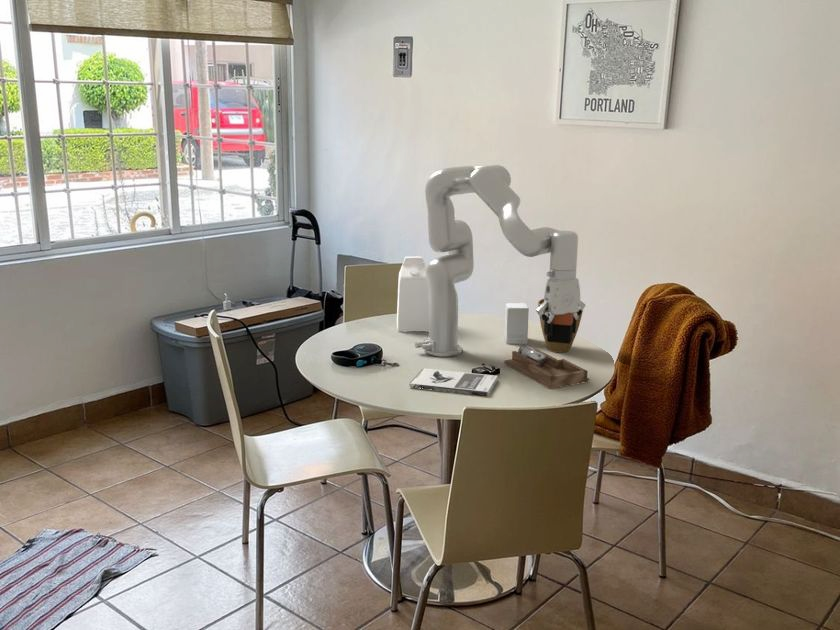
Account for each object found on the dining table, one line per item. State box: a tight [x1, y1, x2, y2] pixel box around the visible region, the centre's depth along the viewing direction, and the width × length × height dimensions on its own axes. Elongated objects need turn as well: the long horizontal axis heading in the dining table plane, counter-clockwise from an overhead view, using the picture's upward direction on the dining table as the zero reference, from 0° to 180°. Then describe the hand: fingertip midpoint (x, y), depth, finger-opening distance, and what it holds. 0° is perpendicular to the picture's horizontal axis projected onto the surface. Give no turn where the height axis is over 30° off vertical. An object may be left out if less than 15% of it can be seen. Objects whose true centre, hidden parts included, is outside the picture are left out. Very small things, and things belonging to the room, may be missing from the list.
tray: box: [503, 347, 590, 390], centre depth 238 cm, size 14×25×4 cm, turn 25°
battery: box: [547, 313, 574, 344], centre depth 228 cm, size 4×7×10 cm, turn 69°
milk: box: [396, 256, 429, 332], centre depth 282 cm, size 12×12×26 cm
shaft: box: [517, 344, 547, 366], centre depth 244 cm, size 4×10×4 cm, turn 25°
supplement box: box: [503, 302, 529, 345], centre depth 268 cm, size 7×7×13 cm
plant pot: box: [537, 298, 584, 353], centre depth 258 cm, size 15×15×16 cm
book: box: [408, 368, 498, 397], centre depth 228 cm, size 23×14×2 cm, turn 73°
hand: (559, 333), depth 229 cm, fingers closed on battery, 7 cm apart
